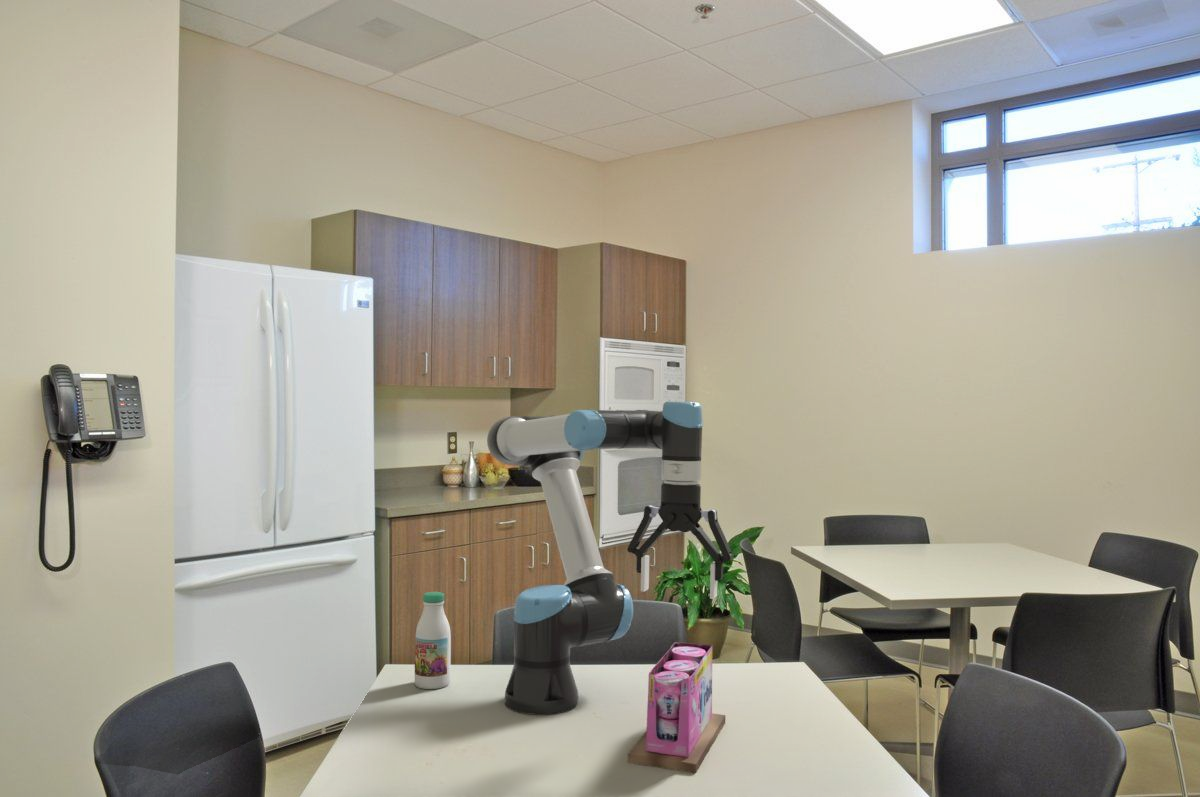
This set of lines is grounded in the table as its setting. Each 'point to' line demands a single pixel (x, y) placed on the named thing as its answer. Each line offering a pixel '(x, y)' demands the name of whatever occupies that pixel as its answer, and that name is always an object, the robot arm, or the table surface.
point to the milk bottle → (432, 644)
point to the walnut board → (673, 761)
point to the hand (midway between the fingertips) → (678, 594)
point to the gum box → (679, 699)
